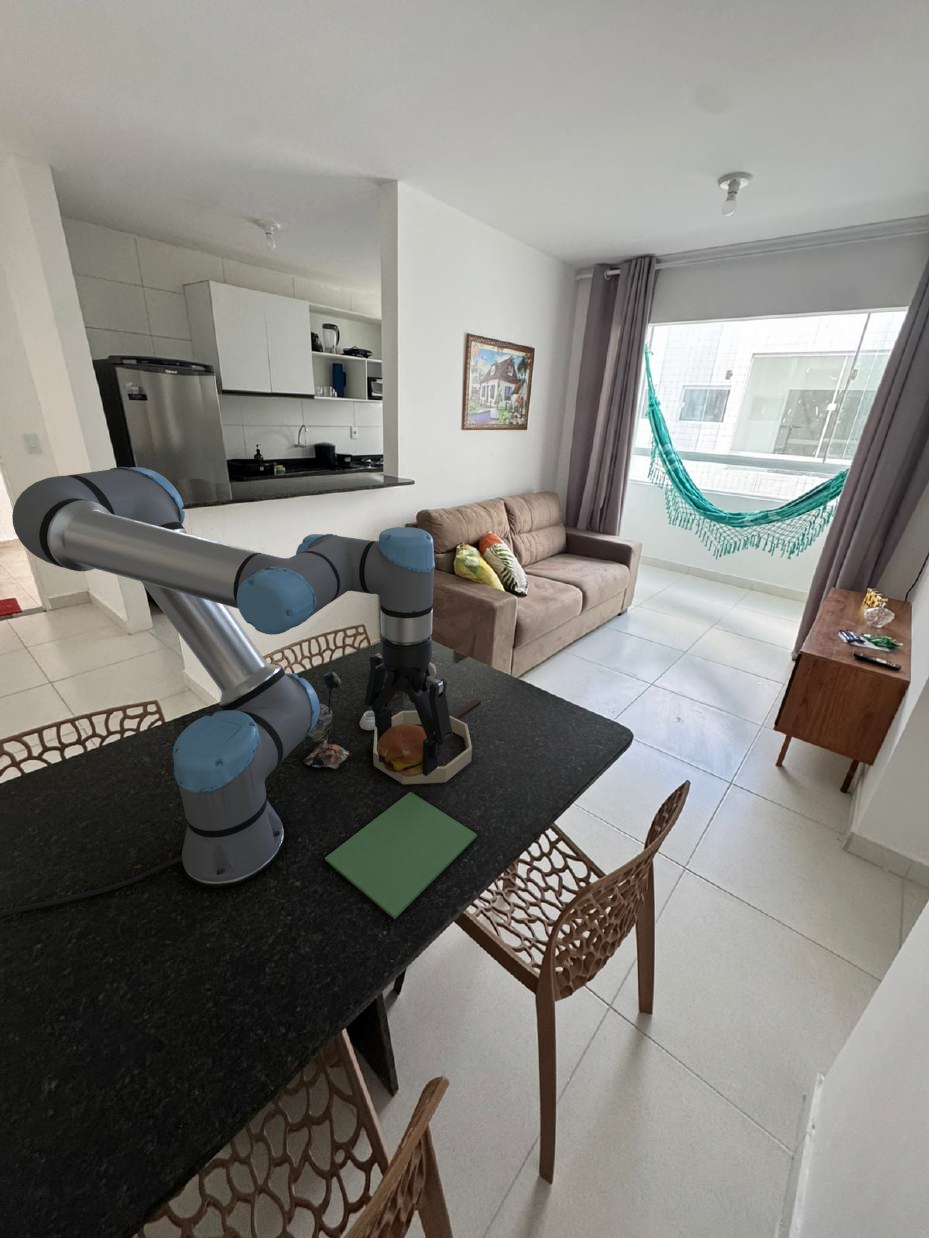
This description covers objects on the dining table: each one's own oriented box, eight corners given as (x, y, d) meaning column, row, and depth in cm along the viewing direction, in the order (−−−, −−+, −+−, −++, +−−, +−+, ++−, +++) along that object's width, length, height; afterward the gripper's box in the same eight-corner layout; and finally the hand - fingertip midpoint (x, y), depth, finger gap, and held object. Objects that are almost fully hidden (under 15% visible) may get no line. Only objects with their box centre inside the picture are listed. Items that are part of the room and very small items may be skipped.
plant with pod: (318, 737, 112) (311, 657, 104) (357, 756, 107) (353, 673, 99) (289, 757, 106) (279, 673, 98) (329, 778, 101) (322, 691, 93)
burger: (423, 735, 90) (424, 713, 88) (445, 768, 82) (446, 745, 80) (369, 749, 86) (368, 726, 84) (386, 785, 78) (385, 761, 76)
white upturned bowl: (357, 731, 115) (380, 732, 115) (357, 720, 114) (379, 721, 114) (362, 718, 119) (383, 719, 120) (361, 707, 118) (383, 708, 118)
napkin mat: (394, 919, 74) (394, 916, 74) (324, 860, 83) (324, 857, 83) (477, 836, 89) (477, 834, 89) (410, 793, 98) (410, 791, 98)
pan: (425, 798, 97) (425, 784, 95) (354, 753, 108) (353, 739, 106) (512, 727, 119) (513, 715, 117) (446, 696, 130) (446, 684, 128)
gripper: (482, 649, 72) (474, 775, 81) (373, 607, 84) (376, 721, 93) (449, 669, 66) (444, 801, 75) (337, 621, 78) (344, 740, 87)
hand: (406, 757), depth 84 cm, fingers closed on burger, 9 cm apart
